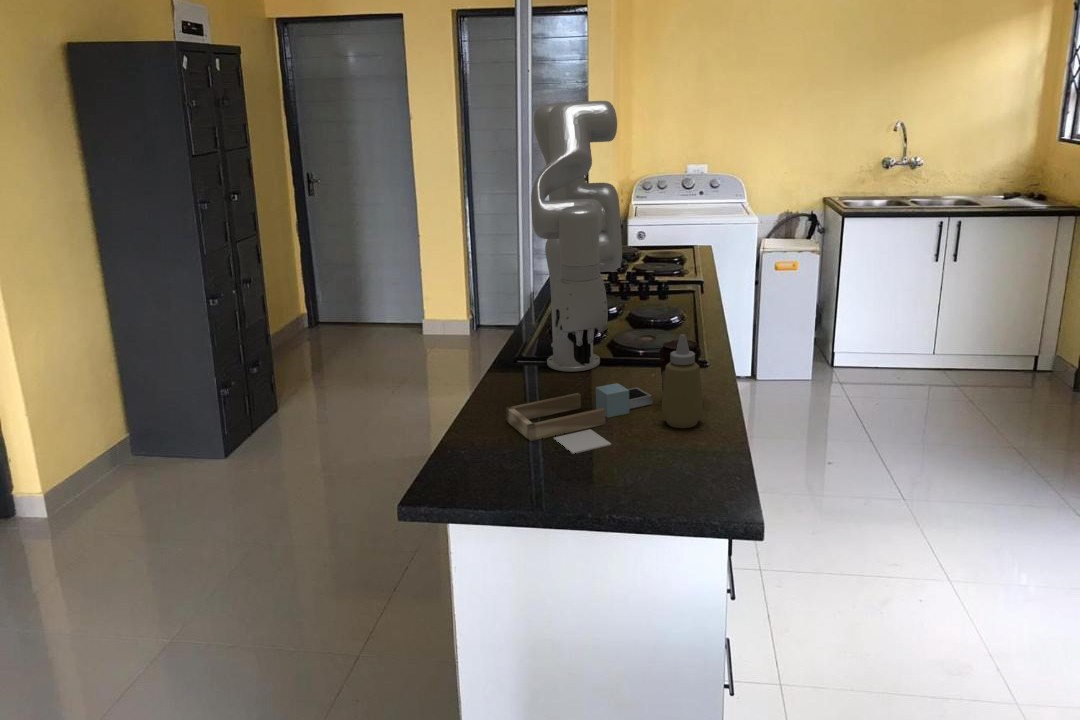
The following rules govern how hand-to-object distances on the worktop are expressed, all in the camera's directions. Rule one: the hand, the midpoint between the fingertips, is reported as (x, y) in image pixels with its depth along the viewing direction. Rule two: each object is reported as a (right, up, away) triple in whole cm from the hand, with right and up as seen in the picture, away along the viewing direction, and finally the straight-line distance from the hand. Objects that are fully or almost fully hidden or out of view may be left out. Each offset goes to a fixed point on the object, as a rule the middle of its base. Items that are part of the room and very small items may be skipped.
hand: (582, 362), depth 171 cm
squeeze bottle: (+19, -12, -2) cm, 23 cm away
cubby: (-5, -12, +1) cm, 13 cm away
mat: (-1, -15, -9) cm, 18 cm away
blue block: (+6, -10, +5) cm, 13 cm away
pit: (+11, -9, +9) cm, 17 cm away
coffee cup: (+20, -9, +8) cm, 24 cm away
